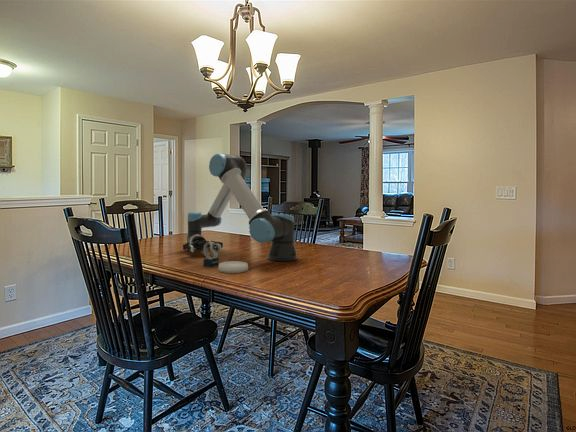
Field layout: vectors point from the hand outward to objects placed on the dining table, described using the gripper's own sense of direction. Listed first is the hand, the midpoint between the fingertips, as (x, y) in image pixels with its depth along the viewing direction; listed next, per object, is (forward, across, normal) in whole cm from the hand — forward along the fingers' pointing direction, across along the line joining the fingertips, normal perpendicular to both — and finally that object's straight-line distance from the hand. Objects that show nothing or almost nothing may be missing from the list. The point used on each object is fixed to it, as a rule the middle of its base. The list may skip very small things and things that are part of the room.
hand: (206, 248), depth 179 cm
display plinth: (+21, -7, -6) cm, 23 cm away
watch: (+9, 0, -7) cm, 11 cm away
